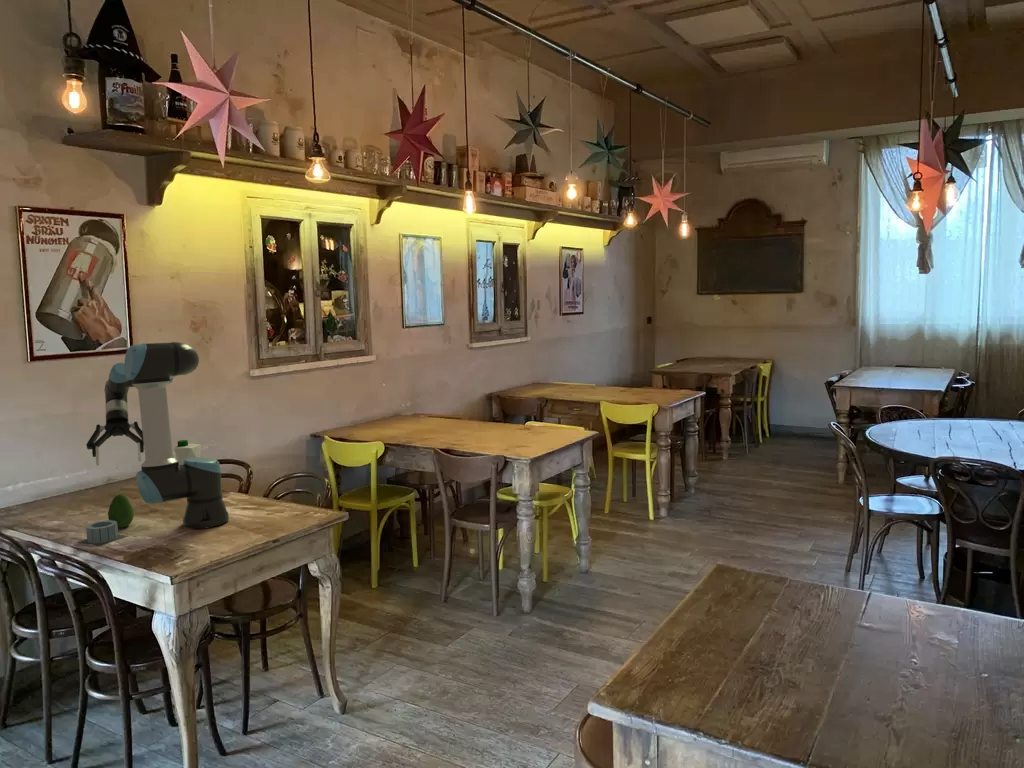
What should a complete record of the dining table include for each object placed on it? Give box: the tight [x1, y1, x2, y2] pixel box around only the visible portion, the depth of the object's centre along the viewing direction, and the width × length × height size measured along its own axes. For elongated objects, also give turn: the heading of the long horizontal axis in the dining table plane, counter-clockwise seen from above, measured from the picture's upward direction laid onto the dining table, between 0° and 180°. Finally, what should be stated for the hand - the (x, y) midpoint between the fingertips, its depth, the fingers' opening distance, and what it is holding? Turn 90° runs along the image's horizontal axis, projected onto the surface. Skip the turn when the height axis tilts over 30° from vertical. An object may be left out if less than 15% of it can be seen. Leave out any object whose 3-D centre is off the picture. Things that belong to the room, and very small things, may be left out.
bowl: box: [85, 519, 119, 544], centre depth 247 cm, size 9×9×5 cm
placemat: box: [76, 533, 129, 547], centre depth 247 cm, size 11×11×1 cm
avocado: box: [107, 493, 135, 529], centre depth 260 cm, size 8×8×12 cm
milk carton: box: [173, 439, 202, 465], centre depth 313 cm, size 9×9×20 cm
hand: (118, 461), depth 270 cm, fingers open, 13 cm apart
